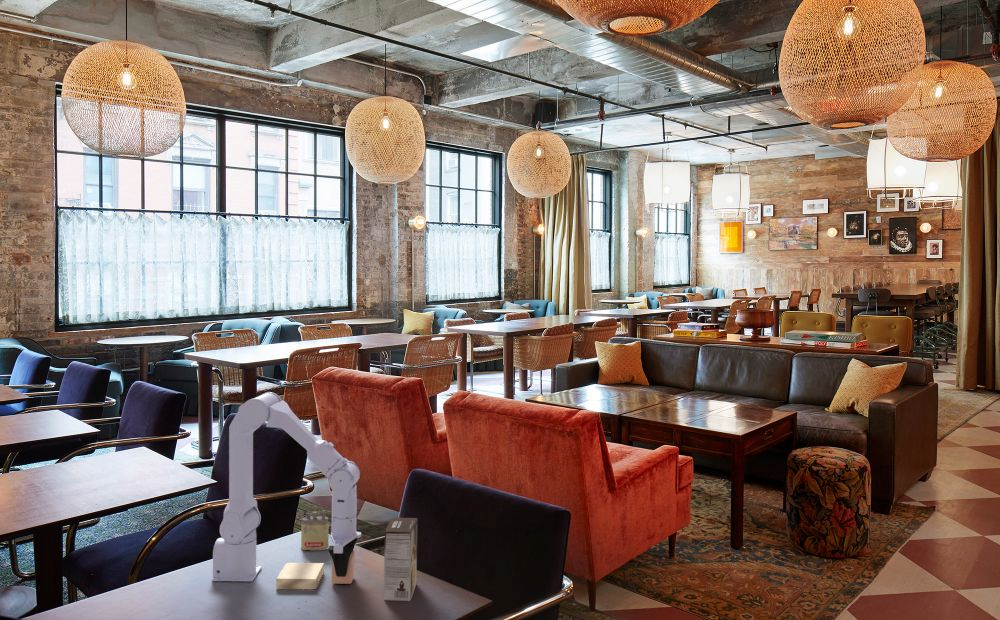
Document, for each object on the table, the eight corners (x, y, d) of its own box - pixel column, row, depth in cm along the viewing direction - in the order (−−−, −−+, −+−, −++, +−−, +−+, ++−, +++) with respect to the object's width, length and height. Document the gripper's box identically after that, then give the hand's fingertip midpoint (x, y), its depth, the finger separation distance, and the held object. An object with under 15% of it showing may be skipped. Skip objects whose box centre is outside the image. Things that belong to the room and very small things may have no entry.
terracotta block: (331, 583, 172) (332, 558, 171) (335, 575, 176) (335, 550, 176) (351, 583, 172) (351, 558, 171) (354, 575, 176) (354, 551, 176)
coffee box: (390, 583, 174) (391, 516, 173) (417, 583, 174) (418, 517, 173) (383, 600, 165) (384, 530, 164) (411, 601, 165) (412, 531, 164)
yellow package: (299, 551, 191) (300, 513, 190) (302, 545, 195) (302, 508, 194) (327, 550, 192) (328, 513, 191) (329, 545, 196) (329, 508, 195)
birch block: (276, 591, 169) (276, 578, 169) (286, 574, 178) (286, 562, 178) (315, 591, 169) (315, 579, 169) (323, 575, 178) (323, 563, 178)
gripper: (356, 526, 166) (355, 585, 167) (365, 505, 180) (364, 559, 181) (324, 525, 165) (323, 584, 166) (336, 504, 180) (336, 558, 181)
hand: (343, 571), depth 174 cm, fingers closed on terracotta block, 4 cm apart
